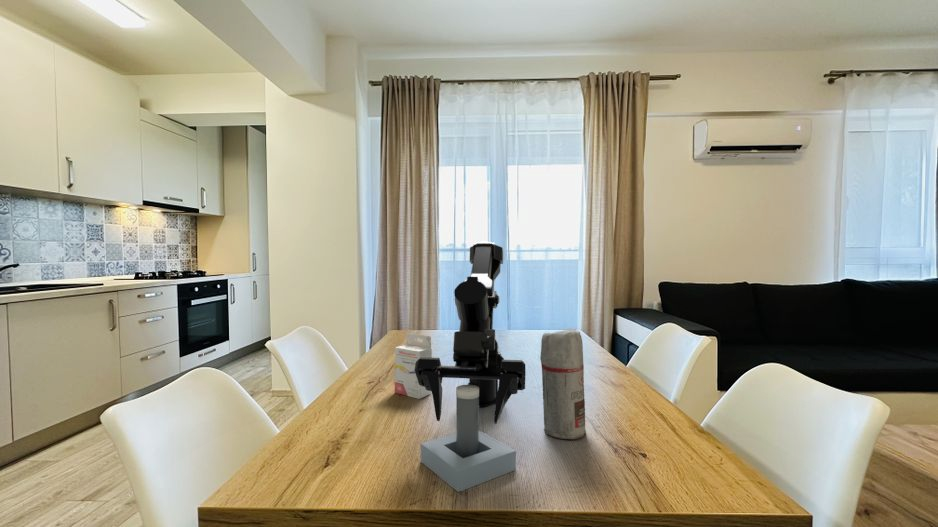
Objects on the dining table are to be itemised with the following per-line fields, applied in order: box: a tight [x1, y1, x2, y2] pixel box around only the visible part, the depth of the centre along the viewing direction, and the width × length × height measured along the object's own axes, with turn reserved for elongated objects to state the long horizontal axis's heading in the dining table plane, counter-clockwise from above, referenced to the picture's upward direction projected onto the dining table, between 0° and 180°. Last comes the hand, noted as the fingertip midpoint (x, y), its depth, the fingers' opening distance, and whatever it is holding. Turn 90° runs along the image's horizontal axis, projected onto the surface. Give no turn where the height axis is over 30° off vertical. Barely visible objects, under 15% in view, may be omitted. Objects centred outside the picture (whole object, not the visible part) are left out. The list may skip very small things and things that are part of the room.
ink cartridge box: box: [394, 332, 433, 400], centre depth 102 cm, size 9×5×15 cm, turn 58°
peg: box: [455, 384, 480, 458], centre depth 65 cm, size 4×4×12 cm
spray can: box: [539, 328, 587, 440], centre depth 79 cm, size 8×8×20 cm
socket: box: [420, 430, 517, 493], centre depth 65 cm, size 11×11×3 cm
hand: (466, 421), depth 64 cm, fingers open, 9 cm apart
